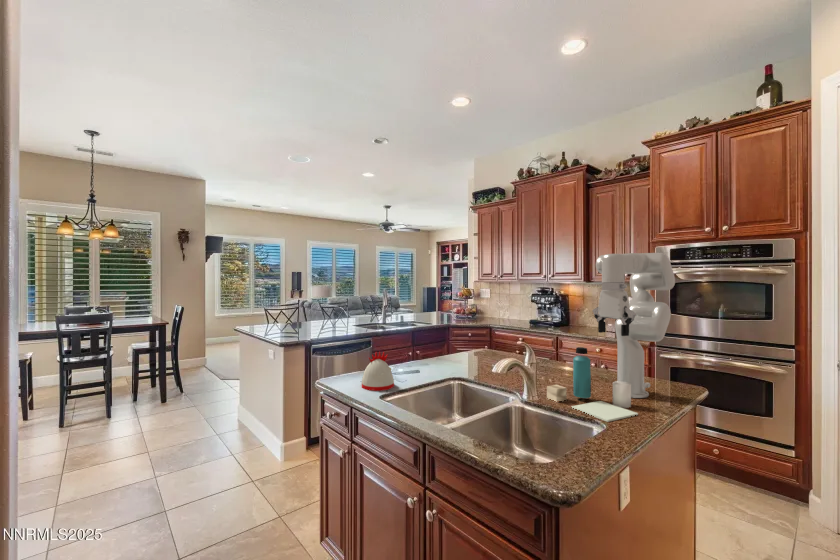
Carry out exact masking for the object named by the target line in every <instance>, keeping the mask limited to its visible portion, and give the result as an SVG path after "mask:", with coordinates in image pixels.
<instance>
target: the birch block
mask: <svg viewBox="0 0 840 560" xmlns="http://www.w3.org/2000/svg"><path fill="white" fill-rule="evenodd" d="M547 398H548V399H547ZM546 399H547V400H549V399H551V400H554V401H556V402H557V401H562V402H565V401H564V400H566V401H567V387H566V386H565V387H564V386H562V385H559V384H553V385H552V384H551V385H547V386H546ZM551 400H550V401H551ZM554 401H553V402H554ZM556 402H555V403H556ZM557 403H558V402H557Z"/></svg>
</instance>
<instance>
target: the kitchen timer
mask: <svg viewBox="0 0 840 560" xmlns="http://www.w3.org/2000/svg"><path fill="white" fill-rule="evenodd" d="M371 356H372V359H371V358H370V357H368V359H369V364H368V365H367V366H366V367H365V370H364V372H363V376H362V379H361V388H362V389H364V390H366V391H372V392H374V391H375V392H376V391H377V392H380V391H381V392H382V391H388V390H390V389H393V388H394V386H395V380H394V376H393V373H392V368H391V367H390V366H389V365H388V363H387V362H386V360H387V358H388V356H389V354H386V355H385V351H383V352H382V355H381V351H379V352H377V351H375V356H374V353H373V354H371Z"/></svg>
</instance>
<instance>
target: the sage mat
mask: <svg viewBox="0 0 840 560" xmlns="http://www.w3.org/2000/svg"><path fill="white" fill-rule="evenodd" d="M571 407H572V408H571ZM570 408H571V409H573V408H574V409H573V410H575V409H577V410H576V411H578V410H580V411H582V412H581V413H583V412H585V413H584V414H586V413H587V414H586V415H588V414H589V415H588V416H591V415H592V416H591V417H593V416H594V418H596V419H599V420H602V421H604V422H607V423H609V422H613V421H618V420H622V419H626V418H631V416H632V417H635V415H636V416H638V415H639V413H638V412H636V411H633V410H630V409H628V408H621V407H618V406H615V405H613V403H612V404H611V403H608V402H605V401H602V400H598V401H597V400H596V401H593V402H587V403H581V404H577V405H571V406H570ZM580 411H579V412H580Z"/></svg>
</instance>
